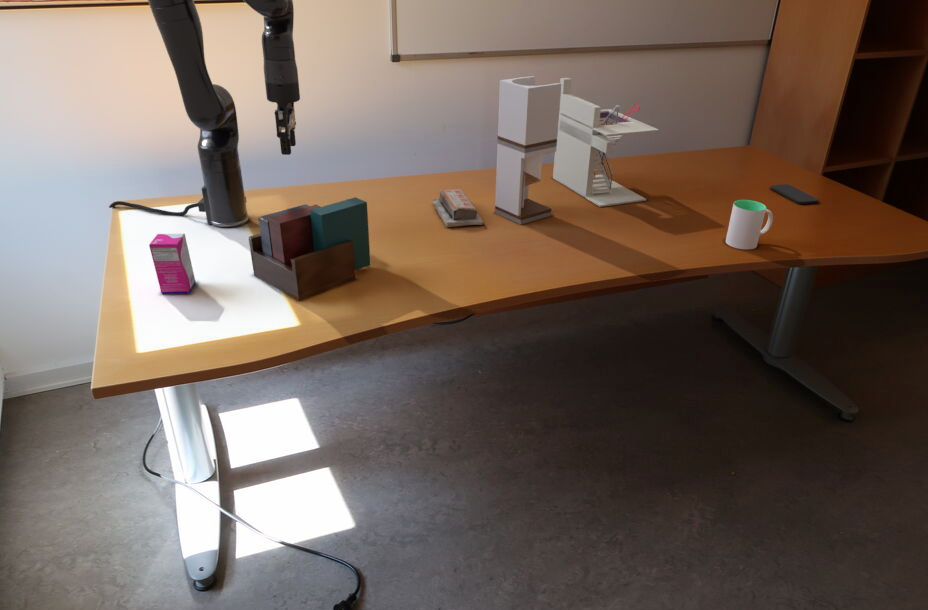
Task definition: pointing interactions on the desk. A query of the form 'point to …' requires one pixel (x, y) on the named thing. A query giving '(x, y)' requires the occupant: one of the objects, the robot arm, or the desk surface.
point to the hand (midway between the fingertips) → (288, 150)
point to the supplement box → (172, 263)
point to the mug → (747, 224)
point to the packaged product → (456, 208)
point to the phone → (794, 194)
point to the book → (343, 228)
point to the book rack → (298, 255)
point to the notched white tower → (524, 144)
